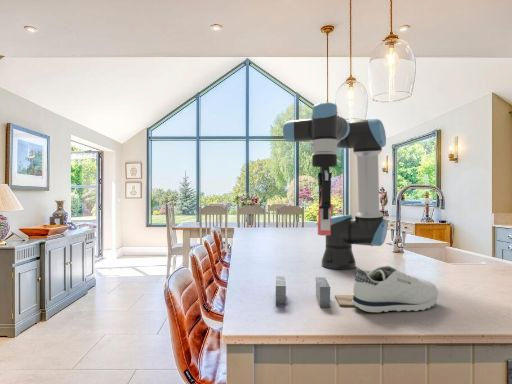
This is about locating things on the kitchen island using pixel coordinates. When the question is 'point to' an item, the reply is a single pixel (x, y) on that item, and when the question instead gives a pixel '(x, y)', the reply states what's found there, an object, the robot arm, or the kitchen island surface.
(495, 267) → the kitchen island surface
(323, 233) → the figurine
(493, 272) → the kitchen island surface
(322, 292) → the grey blocks
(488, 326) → the kitchen island surface
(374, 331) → the kitchen island surface
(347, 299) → the pad
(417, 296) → the running shoe
